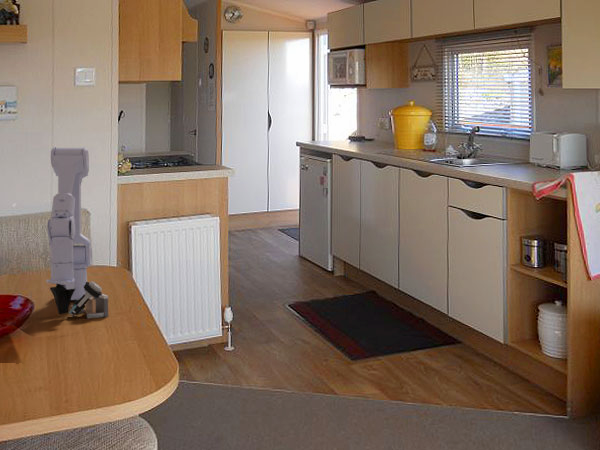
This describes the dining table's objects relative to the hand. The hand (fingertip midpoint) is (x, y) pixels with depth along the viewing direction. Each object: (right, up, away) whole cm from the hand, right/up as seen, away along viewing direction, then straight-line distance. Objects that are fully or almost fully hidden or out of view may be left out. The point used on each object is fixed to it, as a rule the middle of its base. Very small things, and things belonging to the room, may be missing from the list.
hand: (63, 313), depth 189 cm
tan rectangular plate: (+6, -1, +4) cm, 8 cm away
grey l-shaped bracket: (+7, -1, +5) cm, 9 cm away
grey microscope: (+2, -1, +1) cm, 2 cm away
